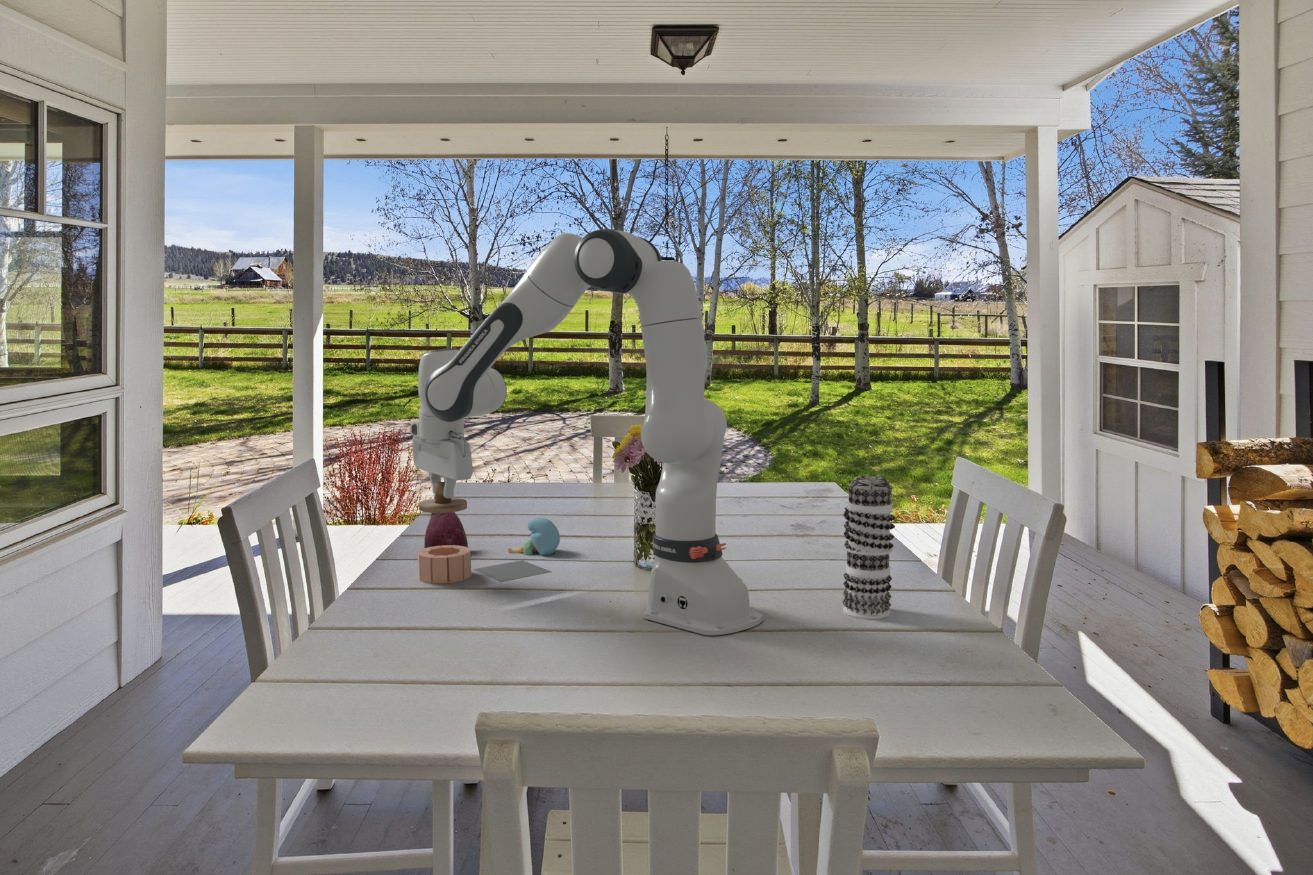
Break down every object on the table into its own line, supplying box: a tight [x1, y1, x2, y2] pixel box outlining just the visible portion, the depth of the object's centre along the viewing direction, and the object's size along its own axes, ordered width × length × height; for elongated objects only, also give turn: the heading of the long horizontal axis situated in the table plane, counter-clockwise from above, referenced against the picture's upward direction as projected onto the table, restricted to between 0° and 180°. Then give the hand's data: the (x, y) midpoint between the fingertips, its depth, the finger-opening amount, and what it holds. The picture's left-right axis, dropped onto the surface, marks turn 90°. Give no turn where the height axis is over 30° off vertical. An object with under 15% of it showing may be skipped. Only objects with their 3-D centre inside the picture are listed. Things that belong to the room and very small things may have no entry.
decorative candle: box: [842, 475, 896, 620], centre depth 162 cm, size 9×9×25 cm
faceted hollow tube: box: [417, 545, 472, 584], centre depth 184 cm, size 10×11×6 cm
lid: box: [418, 481, 468, 514], centre depth 183 cm, size 10×10×5 cm
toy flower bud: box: [507, 517, 561, 556], centre depth 204 cm, size 7×9×12 cm
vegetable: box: [423, 494, 469, 549], centre depth 206 cm, size 10×10×15 cm
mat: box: [473, 560, 552, 583], centre depth 189 cm, size 12×12×1 cm
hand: (443, 495), depth 183 cm, fingers closed on lid, 3 cm apart
